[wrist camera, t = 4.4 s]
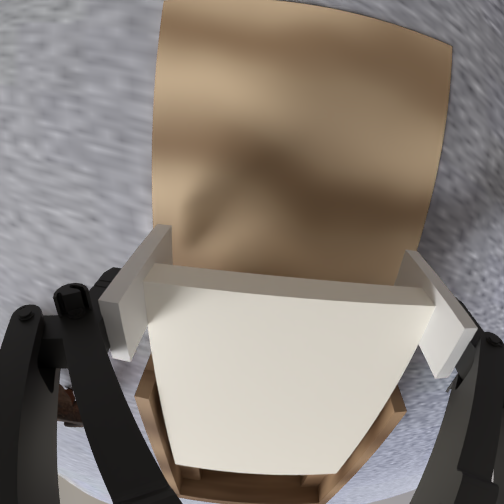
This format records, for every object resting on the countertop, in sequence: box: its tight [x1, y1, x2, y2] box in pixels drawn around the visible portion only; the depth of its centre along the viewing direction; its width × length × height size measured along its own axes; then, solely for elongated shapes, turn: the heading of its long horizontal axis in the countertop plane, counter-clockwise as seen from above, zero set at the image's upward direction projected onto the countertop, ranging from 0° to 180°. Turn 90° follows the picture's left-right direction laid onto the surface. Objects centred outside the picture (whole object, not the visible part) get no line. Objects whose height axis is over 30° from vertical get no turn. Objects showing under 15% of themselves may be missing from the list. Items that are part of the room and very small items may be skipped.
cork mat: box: [152, 0, 452, 286], centre depth 15 cm, size 18×15×1 cm
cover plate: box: [143, 263, 435, 475], centre depth 15 cm, size 16×12×2 cm
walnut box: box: [134, 352, 407, 504], centre depth 21 cm, size 18×15×6 cm
